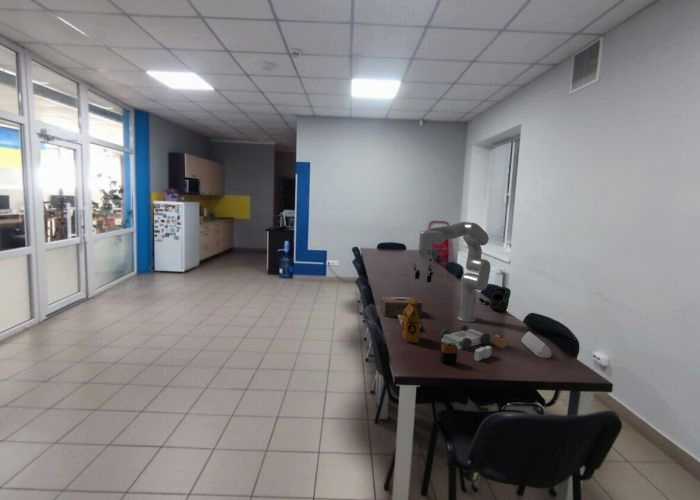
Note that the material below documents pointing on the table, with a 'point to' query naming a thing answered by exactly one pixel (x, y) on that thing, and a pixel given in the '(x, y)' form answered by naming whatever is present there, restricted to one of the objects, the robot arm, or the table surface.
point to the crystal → (536, 345)
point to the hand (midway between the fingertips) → (422, 280)
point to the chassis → (465, 337)
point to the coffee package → (410, 323)
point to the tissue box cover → (398, 305)
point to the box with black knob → (500, 341)
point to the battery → (448, 353)
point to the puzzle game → (402, 319)
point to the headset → (498, 298)
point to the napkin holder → (482, 353)
